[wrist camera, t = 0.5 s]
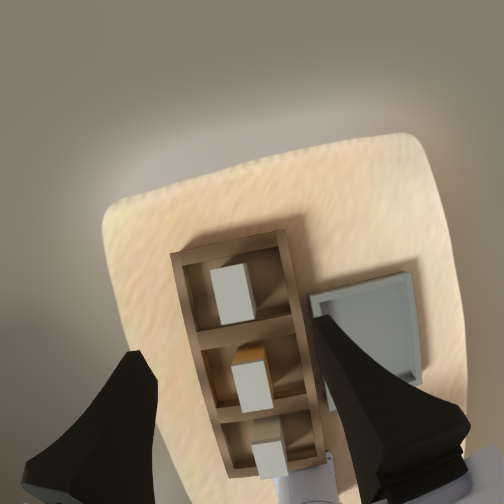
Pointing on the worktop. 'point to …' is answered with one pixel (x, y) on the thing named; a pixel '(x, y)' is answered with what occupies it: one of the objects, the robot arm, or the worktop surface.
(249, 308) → the block
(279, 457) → the block
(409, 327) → the tray
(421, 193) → the worktop surface
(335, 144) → the worktop surface
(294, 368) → the holder
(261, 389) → the grey and orange block
